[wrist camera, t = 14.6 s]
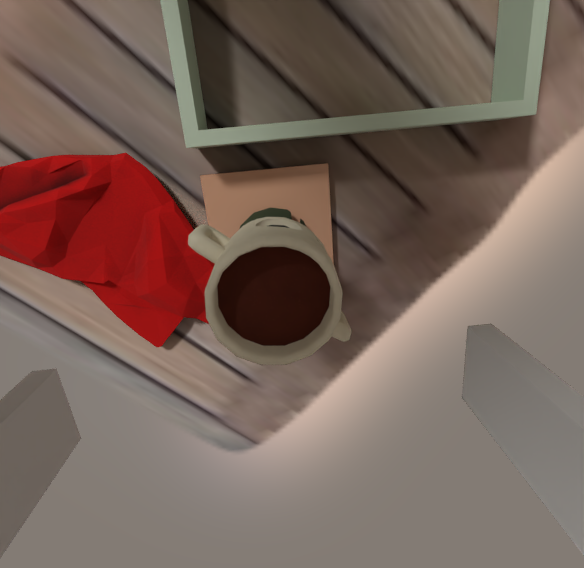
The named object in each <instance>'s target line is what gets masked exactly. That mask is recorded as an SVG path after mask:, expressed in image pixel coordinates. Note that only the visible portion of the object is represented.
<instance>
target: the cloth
mask: <svg viewBox="0 0 584 568" xmlns="http://www.w3.org/2000/svg"><path fill="white" fill-rule="evenodd" d="M193 230H194V229H193V227H192V226H191V225H190V223H189V222H188V220H187V219H186V217H185V216H184V214H183V213H182V212H181V210H180V209H179V207H178V206H177V204H176V203H175V201H174V200H173V199H172V197H171V196H170V195H169V193H168V192H167V191H166V190H165V188H164V187H163V186H162V184H161V183H160V182H159V181H158V179H157V178H156V177H155V176H154V175H153V174H152V173H151V172H150V171H149V170H148V169H147V168H146V167H145V166H143V165H142V164H141V163H139V162H138V161H137V160H135V159H134V158H132V157H131V156H130V155H128V154H127V153H122V154H117V155H59V156H50V157H44V158H39V159H33V160H28V161H22V162H17V163H14V164H11V165H8V166H3V167H0V255H1V256H4V257H6V258H9V259H12V260H15V261H18V262H21V263H24V264H27V265H30V266H33V267H36V268H38V269H41V270H43V271H45V272H48V273H50V274H53V275H55V276H58V277H60V278H63V279H70V280H79V281H81V282H82V283H84V284H85V285H86V286H87V287H89V288H90V289H92V290H93V292H94V293H95V294H96V295H97V296H98V297H99V298H100V299H101V301H102V302H103V303H104V304H105V305H106V306H107V307H108V308H109V309H110V310H111V311H112V312H113V313H114V314H115V315H116V316H117V317H118V318H120V319H121V320H122V321H123V322H124V323H126V324H127V325H128V326H129V327H130V328H132V329H133V330H134V331H135V332H136V333H138V334H139V335H140V336H142V337H143V338H145V339H146V340H147V341H149V342H150V343H152V344H153V345H154V346H156V347H160V346H162V345H163V344H164V342H165V341H166V340H167V338H168V337H169V336H170V335H171V333H172V332H173V331H174V329H175V328H176V327H177V326H178V324H179V323H180V322H181V320H182V319H183V318H184V317H187V318H197V319H199V320H201V321H204V322H206V323H208V324H209V322H208V321H207V319H206V308H205V288H206V286H207V283H208V280H209V278H210V275H211V273H212V270H213V267H214V265H215V263H213V262H211V261H210V260H208V259H206V258H205V257H203V256H202V255H200V254H198V253H197V252H196V251H194V250H193V249H192V248H191V247H190V246H189V245H188V235H189V234H190V233H191V232H192V231H193Z"/></svg>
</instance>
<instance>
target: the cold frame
mask: <svg viewBox="0 0 584 568" xmlns="http://www.w3.org/2000/svg"><path fill="white" fill-rule="evenodd" d="M160 1H161V7H162V13H163V19H164V24H165V30H166V36H167V41H168V47H169V53H170V59H171V64H172V70H173V76H174V81H175V87H176V93H177V98H178V104H179V110H180V116H181V121H182V127H183V133H184V138H185V144H186V148H208V147H218V146H229V145H239V144H250V143H260V142H271V141H281V140H292V139H302V138H313V137H323V136H334V135H345V134H355V133H366V132H376V131H387V130H397V129H408V128H418V127H429V126H439V125H450V124H460V123H471V122H481V121H492V120H502V119H509V118H516V117H523V116H529V115H536V110H537V102H538V94H539V85H540V77H541V69H542V61H543V53H544V44H545V36H546V28H547V20H548V11H549V3H550V0H499V12H498V24H497V36H496V48H495V60H494V72H493V84H492V96H491V103H484V104H473V105H462V106H452V107H441V108H431V109H420V110H409V111H399V112H388V113H378V114H367V115H356V116H346V117H335V118H325V119H314V120H303V121H293V122H282V123H272V124H261V125H250V126H240V127H229V128H219V129H208V128H207V122H206V115H205V109H204V102H203V96H202V89H201V83H200V77H199V70H198V64H197V57H196V51H195V44H194V38H193V31H192V25H191V18H190V12H189V5H188V0H160Z"/></svg>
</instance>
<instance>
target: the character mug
mask: <svg viewBox="0 0 584 568" xmlns="http://www.w3.org/2000/svg"><path fill="white" fill-rule="evenodd" d="M188 245H189V246H190V247H191V248H192V249H193V250H194V251H196V252H197V253H198V254H200V255H202V256H203V257H205V258H206V259H208V260H210V261H211V262H213V263H215V265H214V267H213V270H212V273H211V275H210V278H209V280H208V283H207V286H206V288H205V308H206V319H207V321H208V322H209V324H210V326H211V328H212V330H213V332H214V334H215V336H216V338H217V340H218V341H219V342H220V343H221V344H223V345H224V346H225V347H226V348H227V349H228V350H230V351H231V352H232V353H233V354H234V355H235V356H237V357H239V358H242V359H245V360H248V361H251V362H254V363H257V364H260V365H287V364H290V363H292V362H295V361H298V360H301V359H303V358H306V357H309V356H311V355H312V354H313V353H315V352H316V351H317V350H318V349H319V348H320V347H322V346H323V345H324V344H325V343H326V342H328V341H329V340H330V338H331V336H332V337H334V338H336V339H338V340H340V341H343V342H345V341H347V340H350V336H351V332H352V330H351V328H350V326H349V324H348V321H347V319H346V317H345V315H344V314H343V312H342V311H341V307H342V295H343V292H342V288H341V285H340V282H339V279H338V276H337V272H336V270H335V267H334V264H333V262H332V259H331V258H330V257H329V256H328V254H327V252H326V249H325V247H324V245H323V243H322V242H321V241H320V240H319V239H318V238H317V236H316V235H315V234H314V233H313V232H312V231H311V230H310V229H308V228H307V227H306V225H305V223H304V221H303V220H302V219H300V223H299V222H297V221H294V220H292V217H291V212H290V211H289V210H287V209H279V208H271V207H270V208H267V209H264V210H261V211H258V212H254V213H253V214H252V215H251V216H250V217H249V218H248V219H247V220H246V221H245V222H244V223H243V224H242V225H241V226H240V229H239V230H238V231H237V232H236V233H235V234H234V235H233V236H232V237H231V238H228V237H227V236H225V235H224V234H222V233H221V232H219V231H218V230H216V229H215V228H213V227H211V226H209V225H205V224H201V225H200V226H198V227H197V228H195V229H194V230H193V231H192V232H191V233H190V234H189V235H188Z"/></svg>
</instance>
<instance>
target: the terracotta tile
mask: <svg viewBox="0 0 584 568" xmlns="http://www.w3.org/2000/svg"><path fill="white" fill-rule="evenodd" d="M200 178H201V184H202V190H203V196H204V202H205V208H206V214H207V220H208V225H209V226H211V227H213V228H215V229H216V230H218V231H219V232H221V233H222V234H224V235H225V236H227V237H228V238H231V237H232V236H233V235H234V234H235V233H236V232H237V231H238V230H239V229H240V226H241V225H242V224H243V223H244V222H245V221H246V220H247V219H248V218H249V217H250V216H251V215H252V214H253V213H254V212H258V211H261V210H264V209H267V208H270V207H271V208H279V209H287V210H289V211H290V212H291V217H292V220H294V221H297V222H299V223H300V219H302V220H303V221H304V223H305V225H306V227H307V228H308V229H310V230H311V231H312V232H313V233H314V234H315V235H316V236H317V238H318V239H319V240H320V241H321V242H322V243H323V245H324V247H325V249H326V252H327V254H328V256H329V257H330V258H331V259H332V262H333V244H332V225H331V207H330V188H329V170H328V163H323V164H312V165H302V166H292V167H281V168H271V169H260V170H250V171H240V172H229V173H219V174H208V175H201V176H200ZM333 264H334V262H333Z"/></svg>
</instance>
